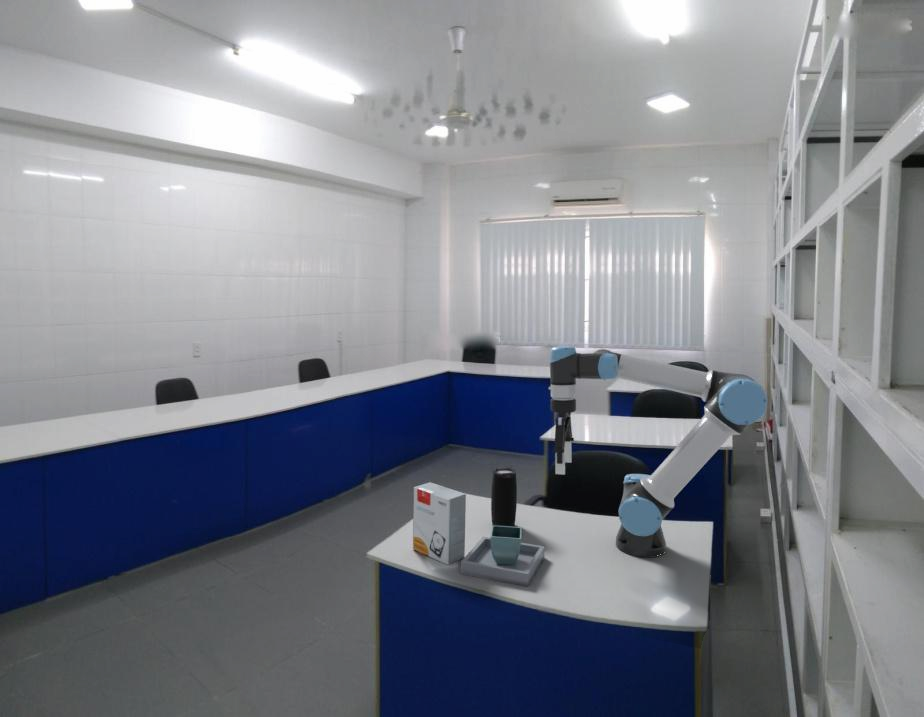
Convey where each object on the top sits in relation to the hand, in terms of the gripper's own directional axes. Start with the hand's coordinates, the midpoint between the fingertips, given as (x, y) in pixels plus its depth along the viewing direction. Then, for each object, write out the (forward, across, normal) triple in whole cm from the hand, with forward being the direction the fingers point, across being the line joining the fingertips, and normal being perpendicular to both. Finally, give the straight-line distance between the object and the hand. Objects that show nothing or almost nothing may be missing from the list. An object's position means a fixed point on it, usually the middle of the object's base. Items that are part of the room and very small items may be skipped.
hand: (563, 468), depth 179 cm
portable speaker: (+26, -15, -23) cm, 38 cm away
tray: (+26, +14, -16) cm, 34 cm away
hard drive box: (+26, +13, -36) cm, 46 cm away
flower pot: (+25, +14, -15) cm, 32 cm away
